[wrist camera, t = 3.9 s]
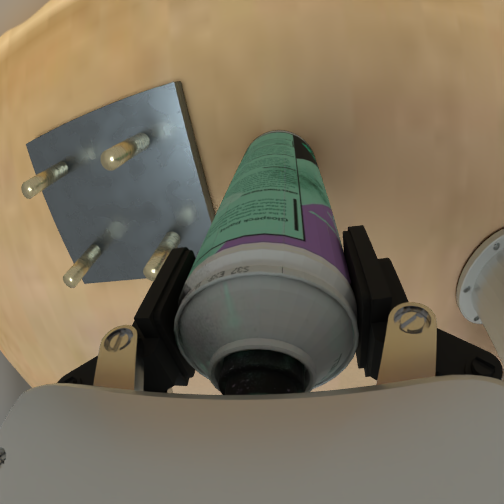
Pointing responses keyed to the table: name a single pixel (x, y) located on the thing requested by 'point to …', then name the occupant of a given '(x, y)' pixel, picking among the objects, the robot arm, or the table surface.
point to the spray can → (270, 280)
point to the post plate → (124, 186)
